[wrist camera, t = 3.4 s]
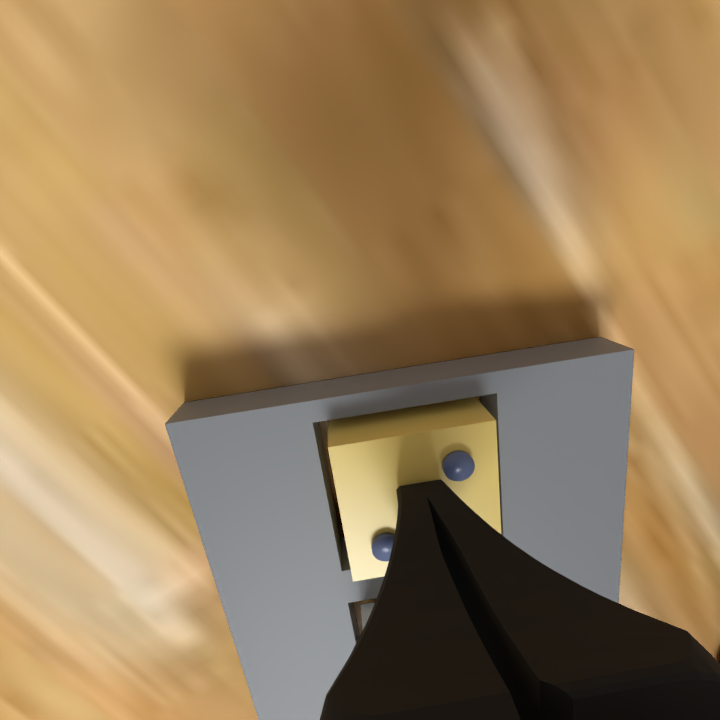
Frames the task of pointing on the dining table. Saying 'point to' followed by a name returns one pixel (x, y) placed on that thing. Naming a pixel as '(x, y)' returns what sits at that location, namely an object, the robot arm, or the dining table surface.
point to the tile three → (409, 470)
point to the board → (317, 511)
